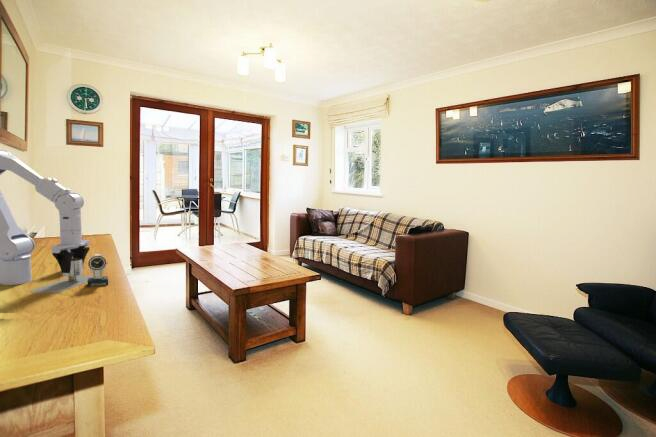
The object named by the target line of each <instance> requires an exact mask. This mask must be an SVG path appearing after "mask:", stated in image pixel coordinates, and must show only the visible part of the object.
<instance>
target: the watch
mask: <svg viewBox="0 0 656 437" xmlns="http://www.w3.org/2000/svg"><path fill="white" fill-rule="evenodd" d="M108 264H109V261H107V259H106V258H105V257H104V255H102V253H95V254H94V253H93V254H92V255H91V257H90V259H88V261H87V266H88V268H89V270H90V272H91V274H92V276H93V277H92V278H88V281H87V288H90V287H101V286H109V275H103V273H104V272H105V268H106V266H107V265H108Z"/></svg>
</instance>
